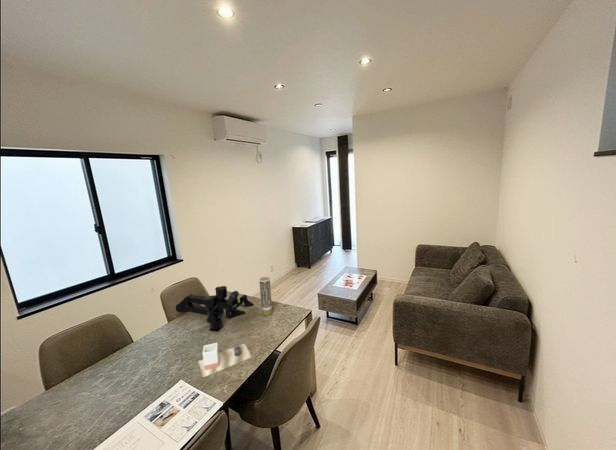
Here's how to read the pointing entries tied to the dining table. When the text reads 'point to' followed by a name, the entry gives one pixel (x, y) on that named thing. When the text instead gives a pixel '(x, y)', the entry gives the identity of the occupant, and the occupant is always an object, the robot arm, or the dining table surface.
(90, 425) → the dining table surface
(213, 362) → the sleeve
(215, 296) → the robot arm
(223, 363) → the pin board
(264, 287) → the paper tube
